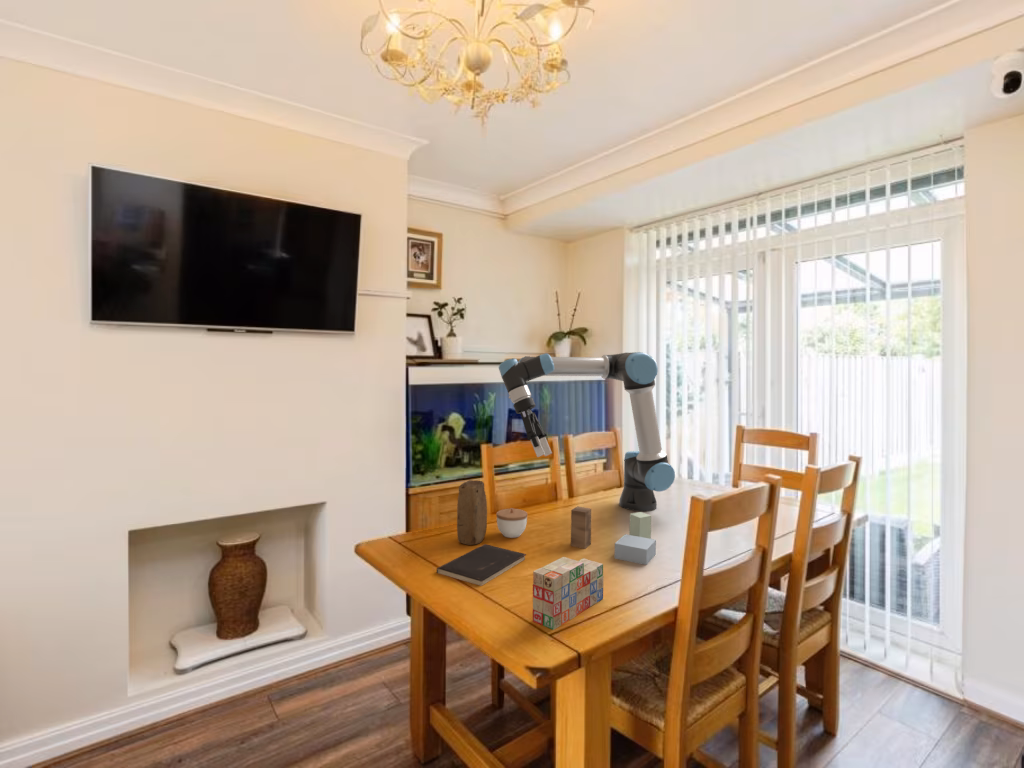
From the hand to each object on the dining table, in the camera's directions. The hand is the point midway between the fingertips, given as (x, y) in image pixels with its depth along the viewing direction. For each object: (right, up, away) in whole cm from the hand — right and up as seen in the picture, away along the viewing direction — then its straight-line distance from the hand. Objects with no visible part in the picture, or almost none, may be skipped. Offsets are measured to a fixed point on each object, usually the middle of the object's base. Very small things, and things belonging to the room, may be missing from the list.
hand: (545, 455), depth 188 cm
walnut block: (+11, -28, -12) cm, 32 cm away
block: (-25, -28, -9) cm, 38 cm away
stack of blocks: (+2, -31, -57) cm, 65 cm away
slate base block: (+27, -29, -22) cm, 45 cm away
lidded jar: (-12, -28, -3) cm, 30 cm away
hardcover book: (-20, -29, -30) cm, 47 cm away
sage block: (+32, -28, -8) cm, 43 cm away
